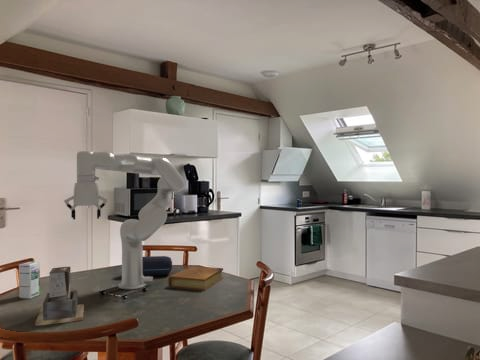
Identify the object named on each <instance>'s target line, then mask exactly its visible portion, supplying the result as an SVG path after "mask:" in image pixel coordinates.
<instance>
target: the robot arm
mask: <svg viewBox="0 0 480 360" xmlns="http://www.w3.org/2000/svg"><path fill="white" fill-rule="evenodd" d="M96 170H103V171H112V172H114V171H115V172H121V173H129V174H130V173H131V174H139V175H148V176H160V178H159V179H158V181H157V193H156V195H155V196H154V197H153V198H152V199H151V200H149V202H147V204H145V206H143V207H142V208H141V209H140V210H139V212H138V219H136V218H129V219H126V220H124V221H123V222H122V223H121V225H120V228H119V236H120V240H121V282H119V284H118V288H119V289H122V290H137V289H142V288H144V287H146V286H147V282H153V281H154V276H143V257H144V255H143V253H144V252H143V251H144V248H143V242H144V241H147V240H148V239H150V238H151V237H152V236H153V235H154V234H155V233H156V232H157V231H158V230H159V229H160V228H161V227H163V225H164V224H165V223H166V222H167V218H168V213H167V212H168V211H167V210H168V209H169V207H170V206H171V205H172V201H173V193H179V192H181V191H182V190H183V189H184V187H185V181H184V178H183V177H182V175H181V174H180V173H179V171H178V170H177V169H176V168H175V166H174V165H173V164H172V163H171V161H170V160H168V159H167V158H165V157H156V158H155V157H148V156H142V155H135V154H125V155H115V154H113V153H112V152H109V151H90V150H83V151H81V150H80V151H78V152H77V153H76V182H75V183H74V187H73V196H70V197H68V198H67V199H64V200H63V202H64V203H65V205H66V207H68V209H69V210H70V211H71V217H70V218H72V220H73V221H74V220H76V209H75V208H76V207H77V206H78V207H79V206H81V207H84V206H86V207H87V206H95V207H96V208H97V210H96V214H97V215H96V216H97V217H96V218H97V219H98V220H99V219H100V217H102V216H101V215H102V214H101V213H102V211H101V210H102V209H103V208H104V206H106V205H107V202H108V199H107V198H105V197H103V196H101V195H99V185H98V182H96V181H99V180H100V177H98V176H96ZM72 200H73V201H72ZM100 200H101V201H102V203H101V204H99V201H100ZM71 201H72V203H73V205H71V204H70V202H71Z"/></svg>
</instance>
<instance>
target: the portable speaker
mask: <svg viewBox="0 0 480 360" xmlns="http://www.w3.org/2000/svg"><path fill="white" fill-rule="evenodd" d="M172 269H173V261H172V258H171V257H169V256H168V255H156V256H155V255H154V256H153V255H152V256H151V255H150V256H143V276H145V277H148V276H149V277H154V276H155V277H156V276H167V275H170V273H171V272H172Z"/></svg>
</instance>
